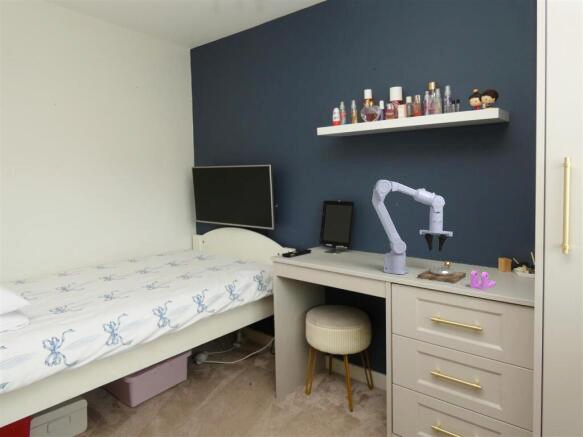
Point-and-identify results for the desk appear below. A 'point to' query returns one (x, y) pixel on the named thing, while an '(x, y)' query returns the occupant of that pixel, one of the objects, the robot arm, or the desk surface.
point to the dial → (442, 270)
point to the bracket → (484, 282)
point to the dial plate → (442, 277)
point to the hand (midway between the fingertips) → (435, 250)
